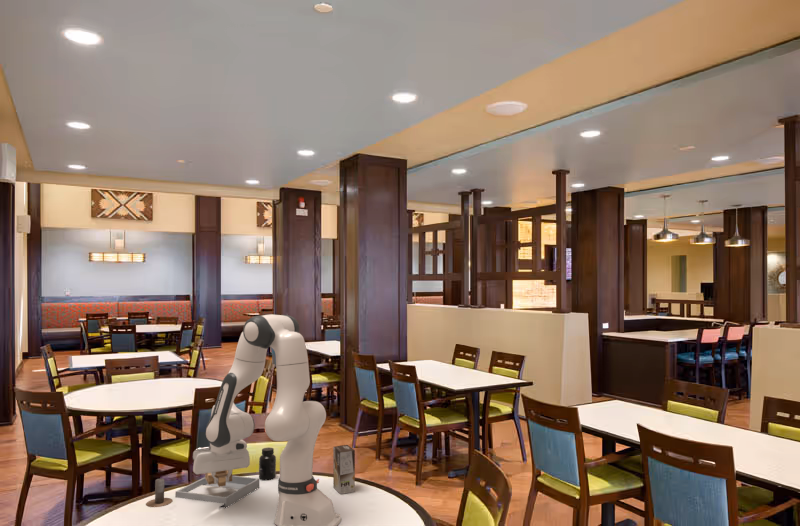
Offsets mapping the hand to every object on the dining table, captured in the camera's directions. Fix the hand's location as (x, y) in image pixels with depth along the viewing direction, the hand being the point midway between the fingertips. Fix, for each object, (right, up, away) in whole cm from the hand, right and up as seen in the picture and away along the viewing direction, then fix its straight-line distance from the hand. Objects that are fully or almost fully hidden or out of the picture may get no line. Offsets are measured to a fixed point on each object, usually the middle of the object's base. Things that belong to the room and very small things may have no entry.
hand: (221, 482), depth 206 cm
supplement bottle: (+12, -8, +24) cm, 27 cm away
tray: (-3, -7, +5) cm, 9 cm away
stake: (-20, -6, -7) cm, 22 cm away
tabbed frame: (-2, -1, +4) cm, 4 cm away
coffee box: (+45, -7, +10) cm, 47 cm away
